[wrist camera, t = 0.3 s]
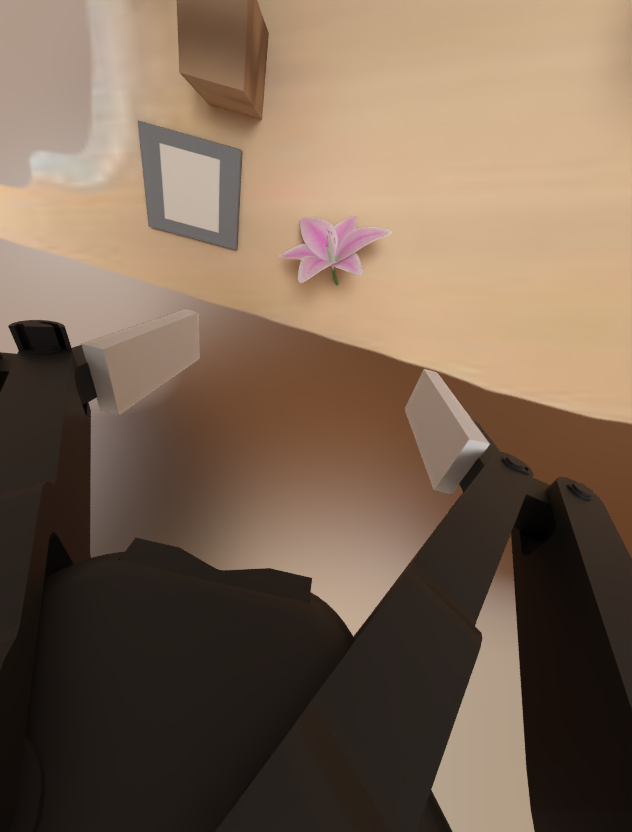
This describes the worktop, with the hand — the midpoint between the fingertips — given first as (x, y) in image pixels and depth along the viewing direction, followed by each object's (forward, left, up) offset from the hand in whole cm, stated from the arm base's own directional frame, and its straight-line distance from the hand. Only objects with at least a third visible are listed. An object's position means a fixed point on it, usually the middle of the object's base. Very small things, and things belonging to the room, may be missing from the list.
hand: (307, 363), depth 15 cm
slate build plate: (-8, -20, -27) cm, 34 cm away
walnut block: (-19, -15, -27) cm, 36 cm away
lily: (-6, -1, -27) cm, 28 cm away
